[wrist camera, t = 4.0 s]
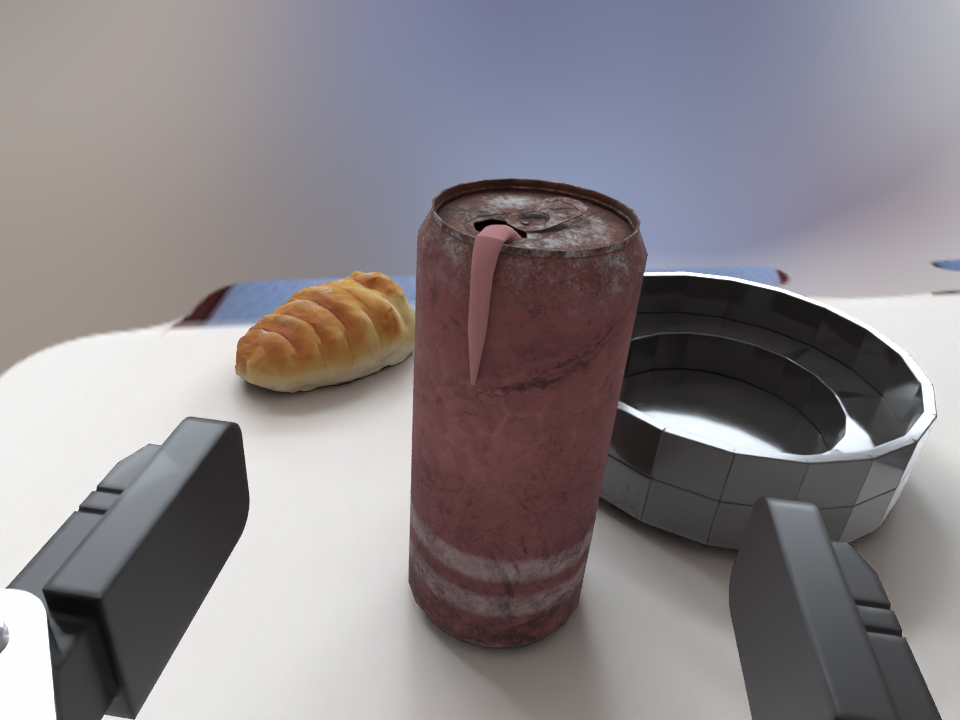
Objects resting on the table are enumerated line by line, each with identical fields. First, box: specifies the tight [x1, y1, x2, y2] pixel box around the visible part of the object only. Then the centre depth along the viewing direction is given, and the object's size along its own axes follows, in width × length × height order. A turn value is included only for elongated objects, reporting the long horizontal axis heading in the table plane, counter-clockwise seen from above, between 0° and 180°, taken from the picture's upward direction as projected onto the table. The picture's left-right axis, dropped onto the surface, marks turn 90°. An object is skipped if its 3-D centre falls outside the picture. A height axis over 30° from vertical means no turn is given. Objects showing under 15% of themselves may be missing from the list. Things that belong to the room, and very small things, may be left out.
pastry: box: [235, 271, 415, 394], centre depth 37 cm, size 9×7×4 cm
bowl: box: [600, 272, 937, 550], centre depth 33 cm, size 16×16×5 cm
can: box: [409, 178, 648, 648], centre depth 22 cm, size 6×6×14 cm
